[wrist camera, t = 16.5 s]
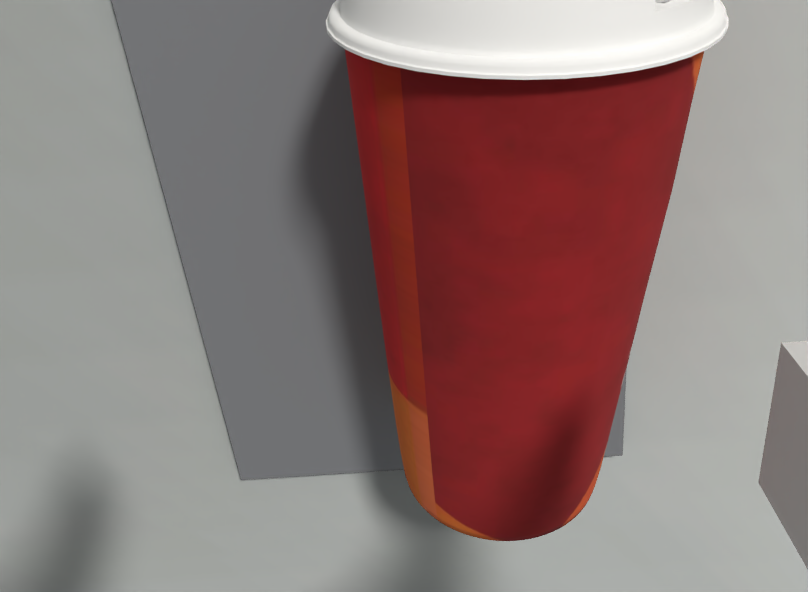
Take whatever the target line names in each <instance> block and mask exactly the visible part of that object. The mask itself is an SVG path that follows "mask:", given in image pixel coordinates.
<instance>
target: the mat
mask: <svg viewBox="0 0 808 592" xmlns="http://www.w3.org/2000/svg"><path fill="white" fill-rule="evenodd" d="M335 1H336V0H112V4H113V8H114V11H115V15H116V19H117V23H118V26H119V30H120V34H121V37H122V41H123V45H124V48H125V52H126V56H127V59H128V63H129V67H130V71H131V74H132V78H133V82H134V85H135V89H136V93H137V96H138V100H139V104H140V108H141V111H142V115H143V119H144V122H145V126H146V130H147V133H148V137H149V141H150V145H151V148H152V152H153V156H154V159H155V163H156V167H157V170H158V174H159V178H160V182H161V185H162V189H163V193H164V196H165V200H166V204H167V207H168V211H169V215H170V219H171V222H172V226H173V230H174V233H175V237H176V241H177V244H178V248H179V252H180V256H181V259H182V263H183V267H184V270H185V274H186V278H187V281H188V285H189V289H190V293H191V296H192V300H193V304H194V307H195V311H196V315H197V318H198V322H199V326H200V329H201V333H202V337H203V341H204V344H205V348H206V352H207V355H208V359H209V363H210V366H211V370H212V374H213V378H214V381H215V385H216V389H217V392H218V396H219V400H220V403H221V407H222V411H223V415H224V418H225V422H226V426H227V429H228V433H229V437H230V440H231V444H232V448H233V452H234V455H235V459H236V463H237V466H238V470H239V474H240V477H241V480H248V479H263V478H279V477H294V476H310V475H326V474H341V473H357V472H372V471H388V470H403V469H404V466H403V462H402V457H401V451H400V445H399V439H398V433H397V427H396V420H395V413H394V406H393V399H392V392H391V385H390V378H389V372H388V364H387V357H386V350H385V343H384V335H383V328H382V321H381V314H380V306H379V299H378V292H377V284H376V277H375V270H374V262H373V255H372V247H371V240H370V232H369V225H368V217H367V210H366V202H365V195H364V187H363V180H362V172H361V165H360V158H359V150H358V143H357V135H356V128H355V121H354V113H353V106H352V98H351V91H350V84H349V76H348V69H347V61H346V54H345V49H344V48H343V47H341V46H340V45H338V44H337V43H335V42H334V41H333V40H332V38H331V37H330V36H329V34H328V33H327V27H326V19H327V17H328V14H329V11H330V9H331V7H332V4H333V3H334V2H335ZM625 388H626V372H625V376H624V380H623V384H622V388H621V391H620V395H619V399H618V403H617V407H616V411H615V415H614V419H613V423H612V427H611V431H610V435H609V439H608V442H607V446H606V450H605V453H604V457H606V456H622V454H623V432H624V410H625Z"/></svg>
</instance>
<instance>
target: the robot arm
mask: <svg viewBox="0 0 808 592" xmlns="http://www.w3.org/2000/svg"><path fill="white" fill-rule="evenodd" d="M759 484H760V486H761V488H762V489H763V491H764V493H765V495H766V497H767V498H768V500H769V502H770V504H771V505H772V507H773V509H774V511H775V512H776V514H777V516H778V518H779V519H780V521H781V523H782V525H783V526H784V528H785V530H786V532H787V533H788V535H789V537H790V539H791V541H792V542H793V544H794V546H795V548H796V549H797V551H798V553H799V555H800V556H801V558H802V560H803V562H804V563H805V565H806V567H807V569H808V341H798V342H785V343H781V348H780V354H779V360H778V366H777V372H776V378H775V384H774V391H773V397H772V403H771V409H770V415H769V421H768V427H767V433H766V439H765V445H764V452H763V458H762V464H761V470H760V476H759Z"/></svg>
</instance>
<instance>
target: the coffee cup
mask: <svg viewBox="0 0 808 592" xmlns="http://www.w3.org/2000/svg"><path fill="white" fill-rule="evenodd" d="M728 19H729V18H728V16H727V14H726V8H725V7H724V5H723V3H722V1H721V0H336V1H335V2H334V3H333V4H332V7H331V9H330V11H329V14H328V17H327V19H326V27H327V33H328V34H329V36H330V37H331V38H332V40H333V41H334V42H335V43H337V44H338V45H340V46H341V47H343V48H344V49H345V54H346V61H347V69H348V76H349V84H350V91H351V98H352V106H353V113H354V121H355V128H356V135H357V143H358V150H359V158H360V165H361V172H362V180H363V187H364V195H365V202H366V210H367V217H368V225H369V232H370V240H371V247H372V255H373V262H374V270H375V277H376V284H377V292H378V299H379V306H380V314H381V321H382V328H383V335H384V343H385V350H386V357H387V364H388V372H389V378H390V385H391V392H392V399H393V406H394V413H395V420H396V427H397V433H398V439H399V445H400V451H401V457H402V462H403V466H404V471H405V475H406V478H407V481H408V484H409V487H410V489H411V491H412V493H413V495H414V496H415V498H416V499H417V501H418V502H419V503H420V505H421V506H422V507H423V508H424V509H425V510H426V511H427V512H428V513H429V514H430V515H431V516H433V517H434V518H435V519H437V520H438V521H440V522H441V523H443V524H444V525H446V526H448V527H450V528H452V529H454V530H456V531H458V532H461V533H464V534H466V535H470V536H473V537H477V538H482V539H488V540H496V541H517V540H525V539H531V538H535V537H539V536H542V535H545V534H548V533H550V532H553V531H555V530H557V529H559V528H561V527H562V526H564V525H566V524H567V523H568V522H570V521H571V520H572V519H573V518H575V517H576V516H577V515H578V514H579V513H580V512H581V510H582V509H583V508H584V507H585V505H586V503H587V502H588V500H589V498H590V496H591V494H592V492H593V489H594V487H595V484H596V481H597V478H598V474H599V471H600V468H601V464H602V460H603V457H604V453H605V450H606V446H607V442H608V439H609V435H610V431H611V427H612V423H613V419H614V415H615V411H616V407H617V403H618V399H619V395H620V391H621V388H622V384H623V380H624V376H625V372H626V368H627V364H628V359H629V355H630V351H631V347H632V343H633V339H634V335H635V331H636V327H637V323H638V319H639V315H640V311H641V307H642V303H643V299H644V295H645V291H646V287H647V284H648V280H649V276H650V272H651V268H652V264H653V261H654V257H655V253H656V249H657V245H658V241H659V238H660V234H661V230H662V226H663V222H664V219H665V215H666V211H667V207H668V203H669V199H670V196H671V192H672V188H673V183H674V179H675V174H676V170H677V166H678V161H679V157H680V152H681V148H682V143H683V139H684V134H685V130H686V125H687V121H688V116H689V112H690V107H691V103H692V98H693V94H694V90H695V86H696V82H697V78H698V74H699V70H700V66H701V62H702V58H703V54H704V51H705V50H707V49H709V48H710V47H712V46H713V45H715V44H716V43H717V42H719V41H720V40H721V39H722V38H723V36H724V35H725V33H726V32H727V30H728Z"/></svg>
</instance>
